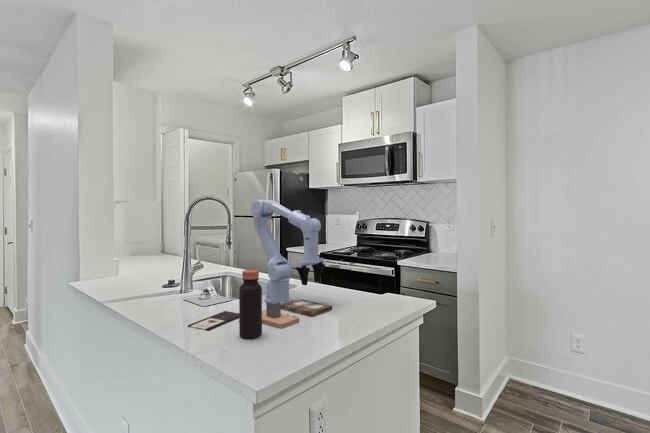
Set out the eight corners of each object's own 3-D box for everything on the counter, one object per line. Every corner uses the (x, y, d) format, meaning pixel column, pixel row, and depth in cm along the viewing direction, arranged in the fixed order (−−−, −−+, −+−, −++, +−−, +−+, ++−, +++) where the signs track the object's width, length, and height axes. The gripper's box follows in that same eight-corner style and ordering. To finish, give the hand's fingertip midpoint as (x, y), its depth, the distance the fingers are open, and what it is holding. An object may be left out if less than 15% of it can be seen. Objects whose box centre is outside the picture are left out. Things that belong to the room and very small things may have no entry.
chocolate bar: (244, 314, 132) (208, 329, 116) (244, 316, 132) (208, 332, 116) (225, 310, 136) (187, 325, 119) (225, 313, 136) (187, 328, 119)
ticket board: (280, 309, 140) (280, 304, 140) (301, 302, 150) (301, 298, 149) (312, 317, 130) (312, 312, 130) (332, 309, 140) (332, 305, 140)
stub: (248, 319, 127) (248, 301, 127) (267, 313, 135) (267, 296, 134) (280, 328, 118) (280, 309, 117) (299, 321, 125) (299, 303, 125)
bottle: (235, 335, 112) (235, 270, 111) (253, 330, 116) (253, 268, 116) (247, 341, 107) (247, 273, 106) (266, 335, 112) (266, 271, 111)
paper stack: (180, 313, 135) (180, 311, 135) (151, 301, 152) (151, 299, 152) (233, 301, 153) (233, 299, 153) (202, 291, 169) (202, 290, 169)
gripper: (306, 251, 135) (306, 287, 135) (330, 248, 146) (329, 281, 146) (292, 250, 139) (292, 285, 139) (316, 246, 150) (316, 279, 151)
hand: (310, 283), depth 143 cm, fingers open, 7 cm apart
